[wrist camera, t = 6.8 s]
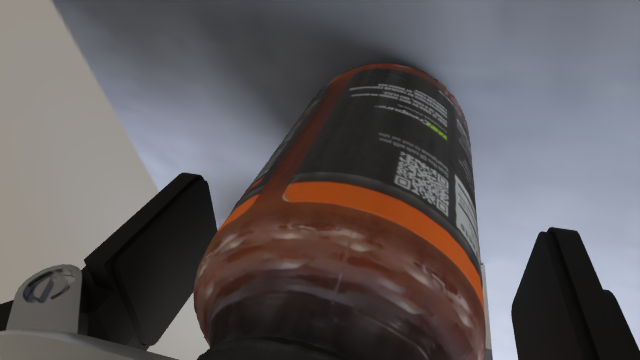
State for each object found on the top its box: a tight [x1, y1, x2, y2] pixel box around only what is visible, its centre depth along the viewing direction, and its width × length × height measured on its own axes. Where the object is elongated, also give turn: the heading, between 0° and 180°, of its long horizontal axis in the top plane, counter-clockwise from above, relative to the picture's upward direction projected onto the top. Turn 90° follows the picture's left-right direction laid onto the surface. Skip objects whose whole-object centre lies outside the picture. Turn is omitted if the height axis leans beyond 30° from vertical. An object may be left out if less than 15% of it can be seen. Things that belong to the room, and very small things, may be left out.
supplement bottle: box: [193, 63, 486, 360], centre depth 10 cm, size 6×6×11 cm
